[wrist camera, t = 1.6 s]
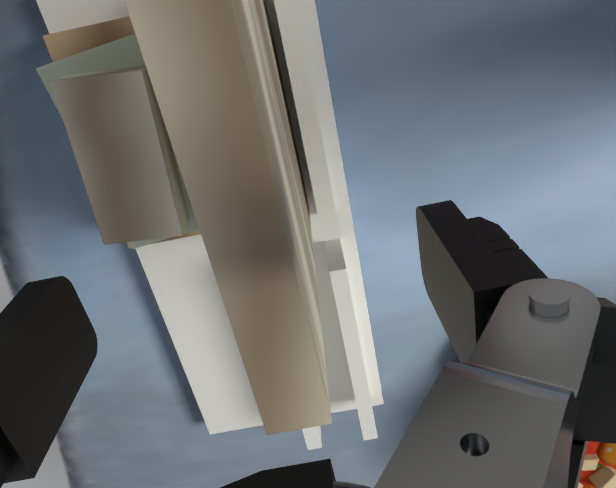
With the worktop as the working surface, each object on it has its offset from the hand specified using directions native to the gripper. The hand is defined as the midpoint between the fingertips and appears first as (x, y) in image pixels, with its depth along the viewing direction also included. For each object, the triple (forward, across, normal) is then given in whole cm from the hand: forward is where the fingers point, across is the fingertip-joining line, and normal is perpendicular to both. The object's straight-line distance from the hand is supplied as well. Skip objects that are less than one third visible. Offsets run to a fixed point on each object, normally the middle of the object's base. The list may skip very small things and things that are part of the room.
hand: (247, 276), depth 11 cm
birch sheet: (+19, 0, 0) cm, 19 cm away
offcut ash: (+15, +7, 0) cm, 17 cm away
